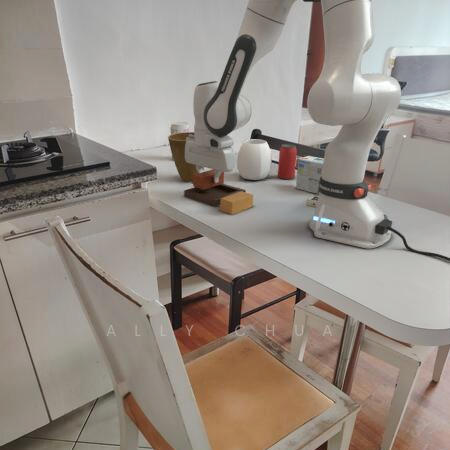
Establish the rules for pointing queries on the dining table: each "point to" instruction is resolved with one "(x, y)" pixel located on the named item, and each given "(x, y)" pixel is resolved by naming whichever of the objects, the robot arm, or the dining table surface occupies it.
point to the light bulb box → (309, 173)
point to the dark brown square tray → (211, 193)
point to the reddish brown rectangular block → (206, 179)
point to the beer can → (287, 161)
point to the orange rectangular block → (236, 202)
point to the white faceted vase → (254, 159)
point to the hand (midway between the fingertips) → (208, 180)
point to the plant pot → (182, 156)
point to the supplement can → (179, 128)
